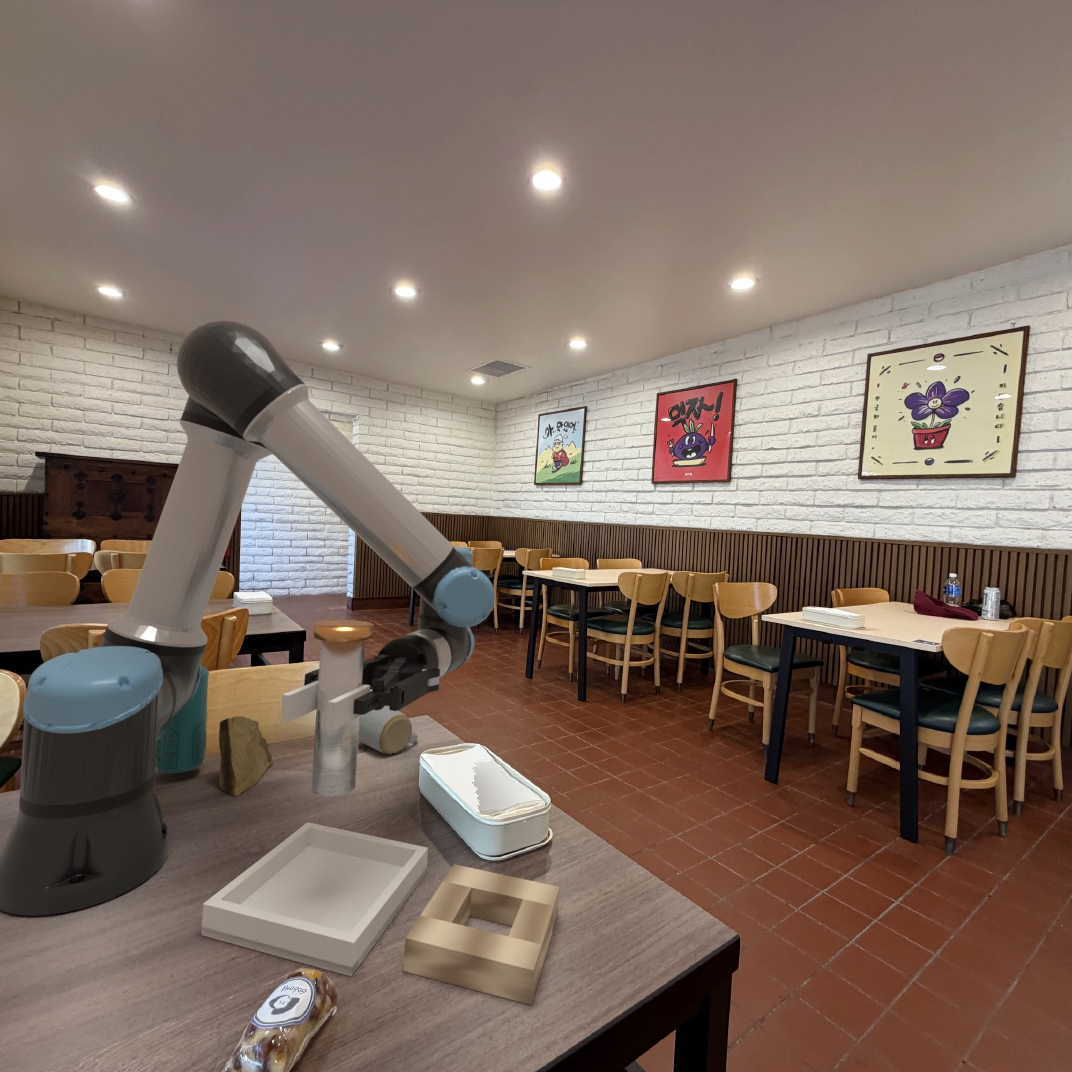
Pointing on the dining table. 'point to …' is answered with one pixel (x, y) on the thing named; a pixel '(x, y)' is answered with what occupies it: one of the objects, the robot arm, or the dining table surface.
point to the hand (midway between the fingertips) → (308, 712)
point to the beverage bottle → (185, 734)
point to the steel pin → (335, 679)
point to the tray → (318, 897)
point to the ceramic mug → (386, 730)
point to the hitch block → (484, 933)
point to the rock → (241, 754)
